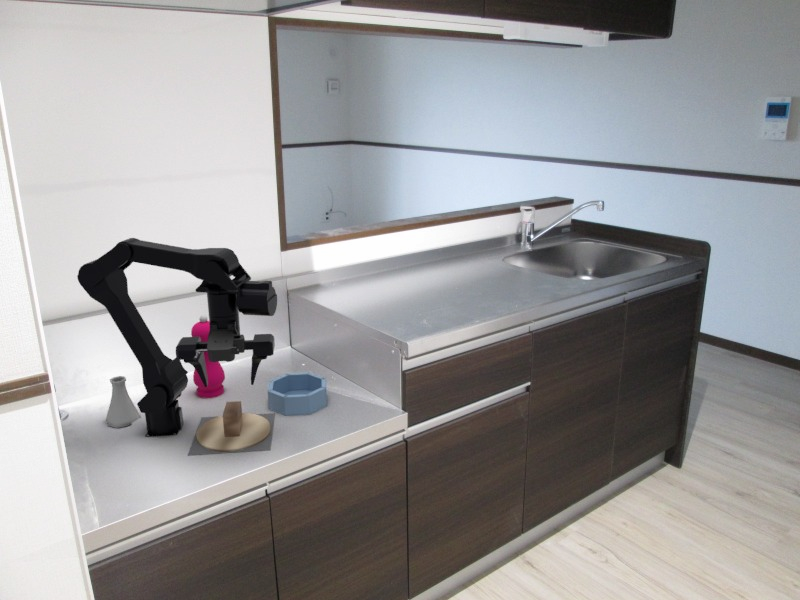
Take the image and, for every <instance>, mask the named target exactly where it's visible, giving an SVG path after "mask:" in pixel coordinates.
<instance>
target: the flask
mask: <svg viewBox="0 0 800 600" xmlns="http://www.w3.org/2000/svg"><path fill="white" fill-rule="evenodd" d="M109 381H110V384H111V387H112V389H111V398H110V403H109V406H108V410H107V413H106V418H105V422H106V425H107V426H108V427H111V428H112V427H113V428H117V429H119V428H124V427H127V426H131V425H132V424H133V423H134V422H136V421H137V420H139V419H140V418H142V417H141V414H140V413H139V411H138V409H137V408H136V406H135V404H134V402H133V400H132V398H131V397H130V395H129V393H128V392H129V391H128V390H127V387H126V381H127V378H126V376H124V375H123V376H122V375H118V376H114V377H111V378H109Z"/></svg>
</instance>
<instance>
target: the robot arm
mask: <svg viewBox="0 0 800 600" xmlns="http://www.w3.org/2000/svg"><path fill="white" fill-rule="evenodd" d="M133 263H138V264H143V265H149V266H150V265H151V266H154V267H159V268H164V269H165V268H167V269H171V270H178V271H183V272H186V273H188V274H191V276H193V277H195V278H196V279H198V280H201V281H202V282H201V283H200V284H199V286H198V287H196V288H195V292H196V293H206V298H207V310H208V319H209V320H208V321H209V324H210V331H209V335H208V342H201V338H200V337H192V336H183V337H181V338H180V340H179V341H178V343H177V345H176V346H175V358H174V359H172V358H170V357H168V356H167V355H166V354H164V352H163V350H162V348H161V347H160V345H159V344H158V342H157V341H156V338H155V337H154V336H153V333H152V332H151V330H150V328H149V327H148V326H147V323H146V322H145V320H144V318H143V317H142V316H141V313H140V312H139V310H138V309H137V307H136V306H135V303H134V302H133V300H132V299H131V297H130V295H129V288H128V278H127V275H126V274H125V270H126V269H127V268H129V267H130V266H131V265H132V264H133ZM76 277H77V281H78V283H79V285H80V286H81V287H82V288H83V290H84V291H85V292H86V294H87V295H88V296H89V297H90V298H91V299H93V300H94V301H96V302H98V303H99V304H100V305H103V306H104V307H105V309H106V310H107V313H109V315H110V318H111V319H112V321H113V322H114V324H115V325H116V327H117V328H118V330H119V332H120V333H121V335H122V337H123V338H124V340H125V342H126V343H127V345H128V347H129V349H130V350H131V351H132V353H133V355H134V357H135V358H136V360H137V361H138V363H139V364H140V366H141V369H142V384H143V386H144V388H145V390H146V394H145V395H144V396H143V397H142V398H141V399H140V400H139V401H138V402H137V403H136V405H137V408H139V409H138V410H139V411H140V413H142V414H143V413H144V416H145V423H146V433H145V438H152V437H167V436H170V437H171V436H177V435H178V434H179V432H180V430H182V428H183V425H184V417H183V416H184V415H183V409H182V406H180V405H179V400H178V399H179V398H180V397H181V396H182V393H183V392H184V391H185V389H186V388H187V386H188V382H189V378H188V375H187V374H188V373H189V372H188V371H187V370H186V369H185V368H184V366H183V365H182V361H183V362H184V363H185V364H190V365H191V366H192V367H193V368H194V370H195V369H196V371H197V372H198V374H199V376H200V378H201V380H202V382H203V384H204V386H205V387H207V386H208V377H207V370H206V364H205V358H204V352H208V356H209V361H210V362H217V361H219V362H226V363H228V362H233V361H234V360H235V359H236V355H240V354H241V353H242V354H243V353H245V351H250V350H251V351H252V356H251V370H250V384H251V386H254V384H255V379H256V376H257V372H258V369H259V367H260V365H261V361H263V360H267V359H268V357H272V356H273V355H274V351H275V346H276V344H275V343H276V342H275V336H274V335H273V334H272V333H261V334H259V333H258V334H256V333H255V334H254V336H253V339H248V340H247V339H245V336H244V334H241V329H240V328H241V327H240V326H241V325H240V313H242V315H245V316H261V317H263V316H265V317H266V316H267V317H273V316H275V314H276V311H277V306H278V294H277V292H276V289H275V287H274V286H273V281H272V280H262V281H261V280H260V281H259V280H257V281H256V280H252V277H251V276H250V274H249V273H248V272H247V270H246V269H245V268H244V267H243V266H242V265H241V263H240V261H239V258H238V256H237V255H236V253H235V252H234V251H233V250H232V249H230V248H228V247H227V248H226V247H208V248H198V249H197V248H195V249H192V248H186V247H181V246H175V245H169V244H165V243H158V242H152V241H148V240H147V241H146V240H141V239H139V238H135V237H128V238H127V239H124V240H121V241H119V242H117V243H116V245H115V246H113V248H111V249H110V250H109V251H107V252H105V253H104V254H103V255H101V256H100V257H98V258H97V259H95V260H92V261H89V262H87V263H84V264H83V265H81V266H80V268H79V270H78V273H77V276H76ZM231 277H234V278H231ZM181 360H182V361H181Z"/></svg>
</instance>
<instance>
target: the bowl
mask: <svg viewBox="0 0 800 600" xmlns="http://www.w3.org/2000/svg"><path fill="white" fill-rule="evenodd" d="M267 401H268V410H270V411H273V412H274V413H277V414H280V415H283V416H285V417H287V416H290V417H291V416H305V415H312V414H313V413H316V412H317V411H319V410H321V409H323V408H325V407H327V406H328V403H327V402H328V399H327V377H324V376H321V375H318V374H316V373H312V372H295V373H293V372H291V373H284V374H283V375H280V376H278V377H275V378H273V379H271V380H269V381H268V387H267Z"/></svg>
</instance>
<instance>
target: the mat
mask: <svg viewBox="0 0 800 600" xmlns="http://www.w3.org/2000/svg"><path fill="white" fill-rule="evenodd" d="M255 414H256V415H259V416H262V417H264V418H266V419H267V420H268V421H269V423H270V434H269V435H268V437H267V438H266V439H265V440H263V441H262V442H260V443H259V444H257V445H255V446H252V447H250V448H246V449H243V450H237V451H228V452H221V451H213V450H209V449H206V448H204V447H202V446H201V445H200V444H199V443H198V441H197V431H198V429H199V428H200V427H201V426H202V425H203V424H204V423H206V422H207V421H209V420H211V419H214V418H216V417H219V416H220V415H219V416H205V417H201V418H200V420H199V423H198V426H197V428H196V431H195V434H194V436H193V440H192V443H191V446H190V448H189V451H188V453H187V457H189V456H190V457H191V456H206V455H219V454H220V455H221V454H235V453H237V454H239V453H250V452H251V453H252V452H266V451H267V452H268V451H271V450H272V449H271V447H272V441H273V434H274V433H273V432H274V426H275V420H276V419H275V418H276V412H272V413H271V412H270V413H269V412H267V413H255Z"/></svg>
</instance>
